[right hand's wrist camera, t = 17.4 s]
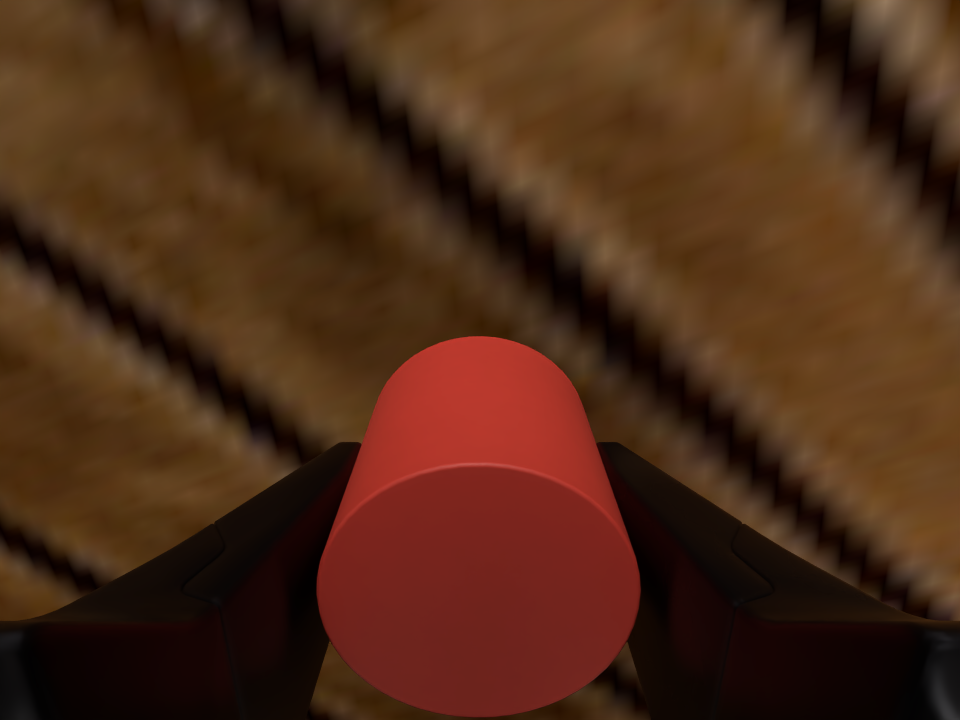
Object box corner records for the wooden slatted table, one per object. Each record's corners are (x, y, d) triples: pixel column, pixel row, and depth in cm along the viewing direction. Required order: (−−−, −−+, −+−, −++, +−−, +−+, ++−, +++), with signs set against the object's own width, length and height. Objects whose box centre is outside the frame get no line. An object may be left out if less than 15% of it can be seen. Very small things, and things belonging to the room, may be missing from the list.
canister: (341, 479, 13) (271, 662, 8) (422, 298, 11) (388, 409, 7) (526, 551, 13) (547, 752, 9) (625, 389, 12) (705, 540, 8)
